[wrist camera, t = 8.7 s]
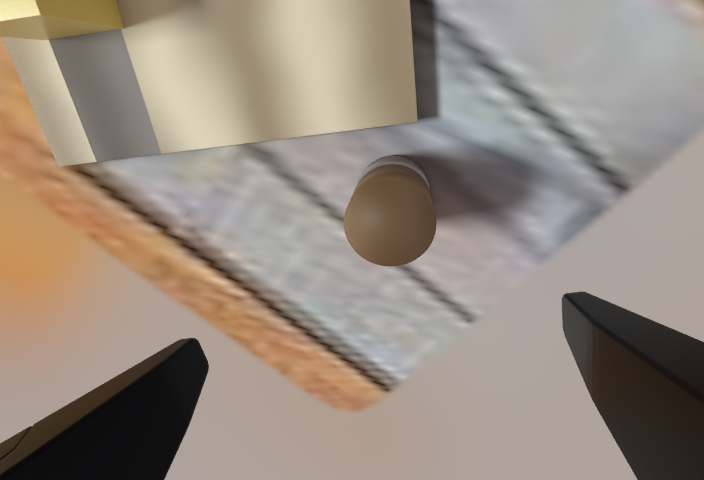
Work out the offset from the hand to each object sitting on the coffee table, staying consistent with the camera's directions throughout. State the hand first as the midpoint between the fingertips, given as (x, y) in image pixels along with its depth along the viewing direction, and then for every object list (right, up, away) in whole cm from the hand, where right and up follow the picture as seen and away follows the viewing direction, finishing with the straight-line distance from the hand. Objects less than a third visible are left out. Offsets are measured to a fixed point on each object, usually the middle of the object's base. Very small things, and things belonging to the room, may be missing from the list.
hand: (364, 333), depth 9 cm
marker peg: (+2, +5, +11) cm, 12 cm away
